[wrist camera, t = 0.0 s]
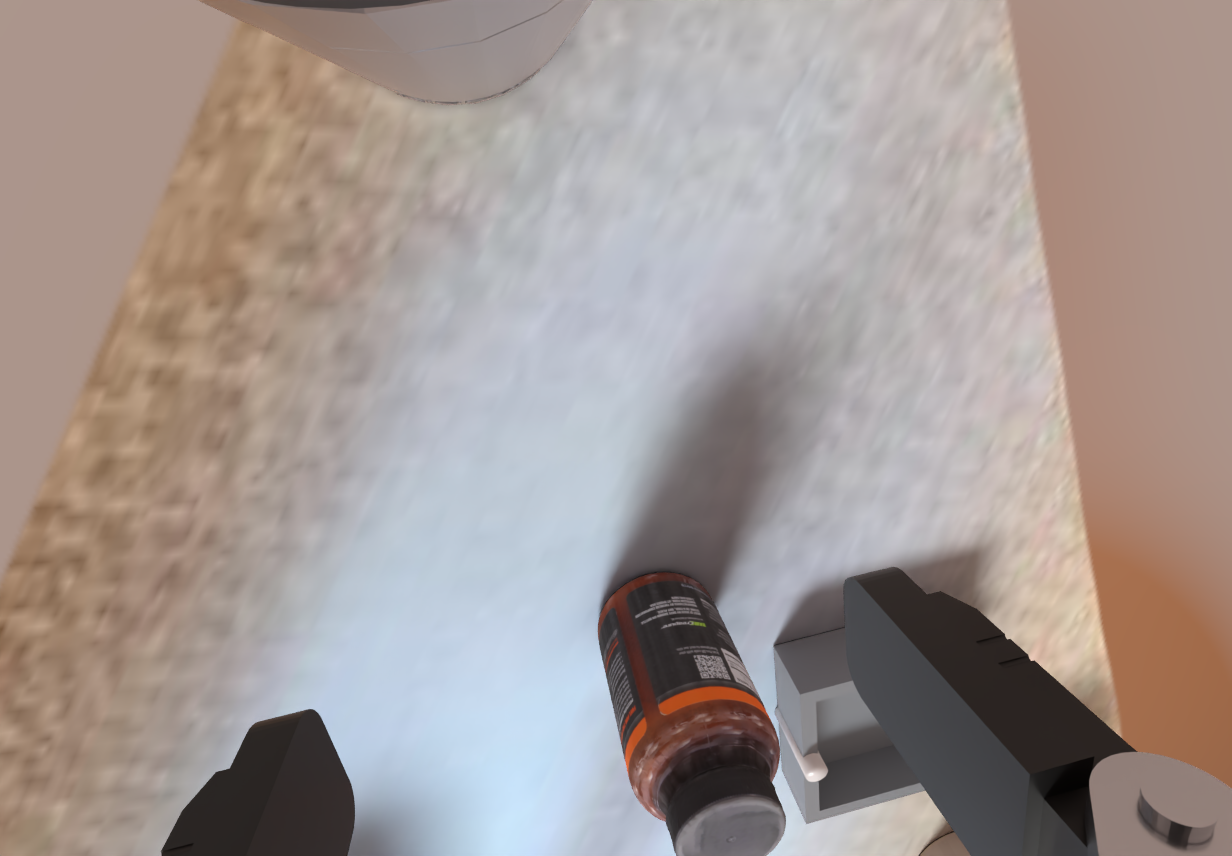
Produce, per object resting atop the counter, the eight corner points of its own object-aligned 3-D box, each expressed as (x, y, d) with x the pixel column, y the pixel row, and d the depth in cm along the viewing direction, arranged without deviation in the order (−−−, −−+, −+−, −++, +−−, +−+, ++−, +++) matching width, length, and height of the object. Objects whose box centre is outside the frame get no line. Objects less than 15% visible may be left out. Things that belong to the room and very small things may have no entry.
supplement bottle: (615, 676, 33) (668, 917, 23) (579, 591, 30) (621, 820, 20) (724, 637, 33) (825, 859, 23) (697, 549, 30) (798, 755, 20)
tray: (769, 646, 34) (802, 707, 30) (953, 599, 35) (1006, 653, 31) (779, 771, 38) (808, 837, 35) (942, 727, 39) (987, 786, 35)
